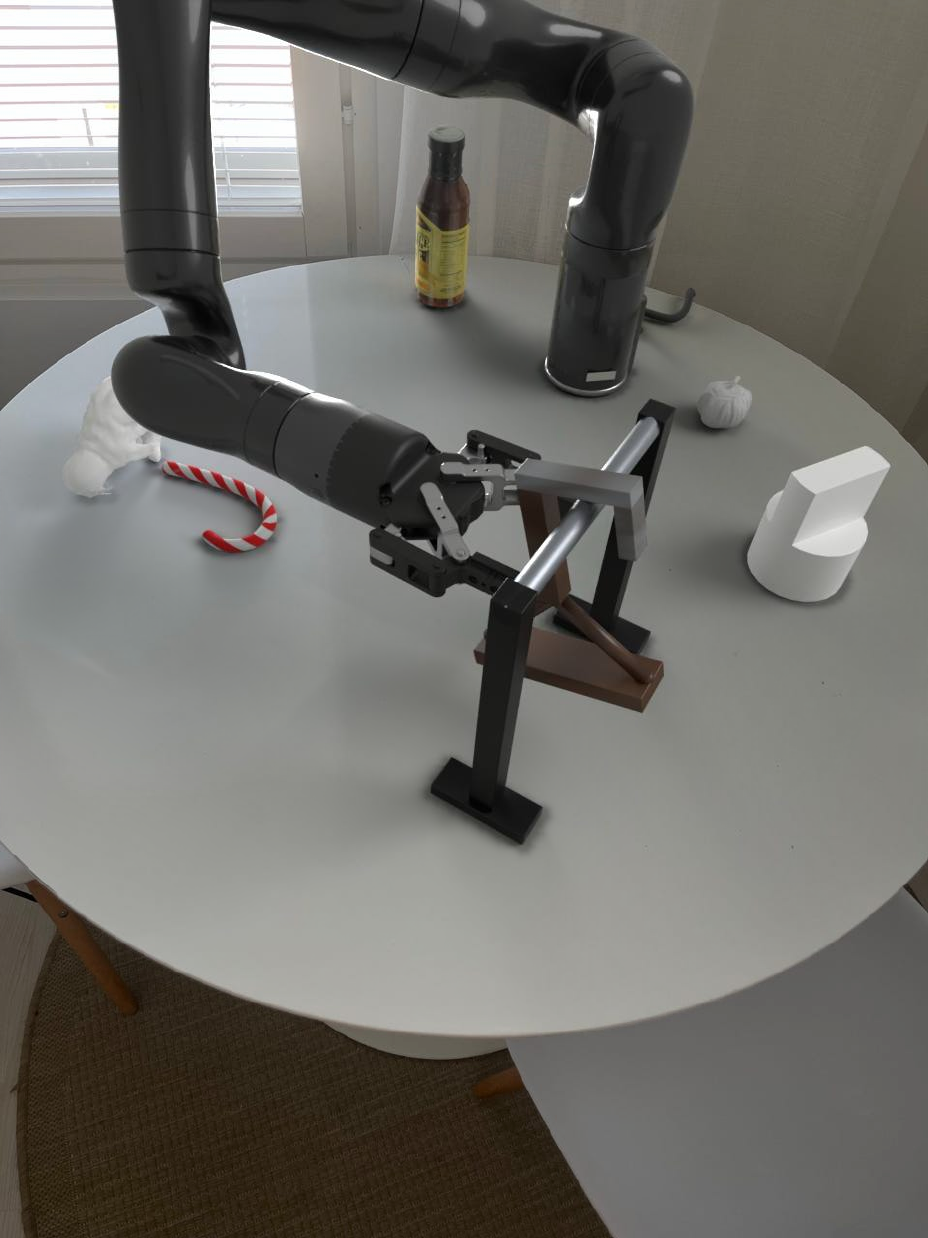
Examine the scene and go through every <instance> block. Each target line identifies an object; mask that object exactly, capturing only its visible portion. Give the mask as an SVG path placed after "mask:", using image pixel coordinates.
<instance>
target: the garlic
mask: <svg viewBox="0 0 928 1238" xmlns="http://www.w3.org/2000/svg"><path fill="white" fill-rule="evenodd" d="M740 380H741V376H739V375H736V376H735V378H734V379H733V381H730V380H729V381H727V380H720V381H712V382H710V383H709V384H708V385H707V387H706V388H705V389H704V391H703V392H702V393H701V395H700V396H699V398H698V400H697V403H696V409H697V411H698V413H699V415H700V420H701V422H702V423H703V424H704V425H705V426H706V427H709V428H711V429H731V428H735V427H736V426H738V425H740V423H741V422H742V421H743V419H744V418H745V417H746V416H747V414H748V412H749V410H750V408H751V405H752V402H753V395H752V392H751V391H750V390H749V389H747V388H745V387H743V386H741V385H740V384H738V382H739V381H740Z"/></svg>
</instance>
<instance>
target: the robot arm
mask: <svg viewBox="0 0 928 1238" xmlns="http://www.w3.org/2000/svg"><path fill="white" fill-rule="evenodd" d="M111 2H112V9H113V17H114V26H115V35H116V49H117V67H118V68H117V69H118V119H117V121H118V123H117V124H118V127H117V128H118V129H117V177H118V178H117V179H118V180H117V181H118V182H117V183H118V201H119V203H118V204H119V215H120V224H121V225H120V226H121V227H120V228H121V229H120V230H121V239H122V251H123V253H124V254H123V263H124V272H125V277H126V282H127V285H128V287H129V289H130V290H131V292H132V293H134V294H135V295H136V296H137V297H139V298H141V299H143V300H144V301H146V302H149V303H151V304H153V305H154V306H156V307H157V308H158V309H159V310H160V311H161V314H162V317H163V319H164V322H165V324H166V327H167V331H168V334H169V335H168V334H148V335H143V336H139V337H137V338H134V339H131V340H130V341H129V342H127V343H126V344H125V345H123V347H121V348H120V350H119V351H118V352H117V354H116V356H115V358H114V360H113V362H112V366H111V369H110V370H111V371H110V375H111V383H112V388H113V391H114V394H115V396H116V399H117V400H118V402H119V404H120V406H121V407H122V409H123V410H124V411H125V412H126V413H127V415H128V416H130V417H131V418H132V419H133V420H134V421H135V422H136V423H138V424H139V425H141V426H142V427H144V428H146V429H147V430H149V431H151V432H153V433H156V434H158V435H161V437H164V438H166V439H170V440H173V441H176V442H180V443H183V444H186V445H190V446H192V447H196V448H199V449H204V450H207V451H211V452H214V453H220V454H224V455H227V456H231V457H234V458H236V459H239V460H241V461H243V462H245V463H246V464H248V465H250V466H252V467H254V468H256V469H259V470H261V471H263V472H265V473H267V474H269V475H272V476H273V477H275V478H277V479H280V480H282V481H284V482H285V483H287V484H288V485H290V486H292V487H294V488H295V489H297V490H298V491H299V492H301V493H302V494H304V495H305V496H307V497H309V498H311V499H313V500H315V501H317V502H319V503H321V504H324V505H326V506H328V507H329V508H332V509H334V510H336V511H339V512H340V513H342V514H345V515H347V516H349V517H351V518H353V519H355V520H358V521H359V522H361V523H363V524H366V525H367V526H370V527H372V528H373V529H371V530H370V531H369V533H368V544H369V545H368V546H369V547H368V548H369V561H370V564H371V565H373V566H374V567H377V568H378V569H380V570H382V571H384V572H386V573H388V574H390V575H391V576H393V577H395V578H397V579H399V580H401V581H402V582H404V583H406V584H408V585H410V586H412V587H414V588H415V589H417V590H419V591H421V592H422V593H425V594H426V595H428V596H430V597H432V598H442V597H443V596H445V594H446V592H447V589H449V588H451V587H453V586H454V585H459V586H461V585H464V584H465V585H467V586H469V587H472V588H473V589H476V590H478V591H480V592H482V593H485V594H486V595H488V596H491V597H492V596H493V595H494V594H495V593H496V591H497V590H498V589H499V588H500V586H501V585H502V584H503V583H504V581H505V580H506V579H507V578H510V579H512V580H515V578H516V577H517V576H518V575H519V573H520V572H521V571H520V570H517V569H515V568H513V567H511V566H509V565H507V564H504V563H502V562H500V561H498V560H496V559H494V558H492V557H490V556H488V555H485V554H482V553H481V552H479V551H477V550H476V551H475V552H474V553H473V554H472V555H471V551H470V549H469V547H468V546H467V544H466V542H465V540H464V538H463V536H464V535H465V534H466V533H467V531H468V529H469V527H470V524H472V523H473V522H476V521H477V520H478V519H479V518H480V517H481V516H482V515H483V514H484V512H497V511H500V510H502V508H503V507H506V506H508V507H509V506H510V507H511V506H520V503H519V498H518V493H517V489H504V488H505V487H507V486H516V481H515V476H514V473H515V472H516V471H517V469H518V468H519V467H520V466H516V465H514V464H513V462H515V463H518V464H520V465H522V464H523V463H524V461H525V460H526V459H527V458H529V459H536V460H542V456H541V454H540V453H538V452H535V451H533V450H530V449H528V448H525V447H522V446H520V445H517V444H515V443H513V442H510V441H506V440H504V439H502V438H499V437H497V436H494V435H492V434H488V433H487V432H483V431H481V430H479V429H471V430H469V431H467V433H466V441H465V444H464V445H463V446H462V448H461V449H460V450H459V451H458V452H447V451H442V450H440V449H438V448H437V447H436V445H434V444H433V443H432V441H430V439H429V438H428V436H426V435H425V434H424V433H422V432H420V431H418V430H416V429H414V428H411V427H409V426H406V425H404V424H402V423H399V422H398V421H395V420H393V419H390V418H388V417H386V416H383V415H381V414H378V413H376V412H373V411H371V410H369V409H366V408H364V407H362V406H360V405H357V404H356V403H353V402H350V401H348V400H344V399H342V398H338V397H333V396H329V395H326V394H323V393H320V392H319V391H317V390H314V389H311V388H309V387H307V386H305V385H302V384H300V383H298V382H296V381H293V380H290V379H288V378H286V377H284V376H280V375H277V374H273V373H268V372H262V371H252V370H251V371H250V370H248V368H247V361H246V356H245V351H244V347H243V344H242V341H241V340H242V339H241V337H240V334H239V330H238V327H237V322H236V320H235V316H234V312H233V308H232V305H231V302H230V299H229V297H228V293H227V291H226V287H225V285H224V282H223V277H222V259H221V256H222V255H221V254H222V253H221V239H220V238H221V237H220V224H219V223H220V222H219V206H218V194H217V193H218V192H217V191H218V190H217V179H216V164H215V152H214V151H215V148H214V134H213V132H214V131H213V118H212V117H213V116H212V115H213V114H212V93H211V92H212V91H211V48H212V47H211V46H212V45H211V44H212V41H211V40H212V38H211V37H212V23H213V24H217V25H223V26H227V27H232V28H237V29H241V30H244V31H248V32H252V33H256V34H260V35H263V36H266V37H270V38H272V39H275V40H278V41H281V42H283V43H286V44H288V45H291V46H292V47H296V48H299V49H301V50H304V51H306V52H309V53H312V54H314V55H317V56H320V57H322V58H326V59H329V60H332V61H334V62H336V63H340V64H343V65H345V66H349V67H352V68H355V69H357V70H360V71H363V72H366V73H368V74H371V75H373V76H376V77H378V78H381V79H384V80H386V81H390V82H393V83H396V84H399V85H402V86H405V87H407V88H411V89H414V90H417V91H420V92H423V93H426V94H430V95H433V96H438V97H442V98H447V99H456V100H457V99H460V100H470V99H473V100H476V99H477V100H478V99H506V100H512V101H516V102H517V101H518V102H521V103H524V104H526V105H530V106H532V107H534V108H537V109H539V110H541V111H544V112H546V113H548V114H550V115H553V116H555V117H556V118H559V119H561V120H562V121H565V122H567V123H568V124H570V125H571V126H573V127H575V128H576V129H578V130H579V131H580V132H581V133H582V134H584V135H585V137H587V139H588V140H589V142H591V144H592V145H593V152H592V157H591V163H590V169H589V173H588V179H587V183H584V184H582V185H580V186H578V187H577V188H576V189H574V190H573V192H572V193H571V195H570V196H569V199H568V202H567V203H568V204H567V210H566V215H565V225H564V231H563V239H562V246H561V247H562V248H561V255H560V260H559V261H560V262H559V267H558V276H557V283H556V288H555V289H556V291H555V296H554V302H553V303H554V304H553V312H552V318H551V325H550V332H549V340H548V345H547V353H546V358H545V363H544V373H545V376H546V377H547V379H548V380H549V381H550V382H551V383H552V384H553V385H554V386H555V387H557V388H558V389H560V390H562V391H563V392H565V393H566V392H567V393H569V394H572V395H577V396H579V397H602V396H608V395H611V394H612V393H615V392H618V391H619V390H620V389H621V388H622V387H623V386H624V384H625V383H626V380H627V376H628V374H630V373H632V371H633V366H634V362H635V357H636V354H637V348H638V345H639V340H640V336H641V334H642V333H643V331H644V327H643V322H644V319H645V317H646V318H648V319H652V320H654V321H658V322H661V323H666V324H668V323H669V324H672V323H676V322H680V321H682V320H683V319H684V318H685V317H686V316H687V315H688V314H689V312H690V310H691V308H692V305H693V301H694V297H696V296H697V295H696V294H697V292H696V290H695V289H694V288H693V287H689V288H687V289H686V291H685V297H684V302H683V305H682V307H681V308H680V310H679V311H677V312H676V313H672V314H671V313H664V312H660V311H657V310H654V309H651V308H648V307H647V304H648V297H647V295H646V294H645V291H646V286H647V281H648V277H649V272H650V267H651V262H652V258H653V253H654V250H655V244H656V240H657V235H658V231H659V228H660V227H659V226H660V224H661V221H662V220H663V219H664V217H665V215H666V214H667V212H668V211H669V209H670V207H671V205H672V202H673V200H674V197H675V194H676V190H677V187H678V184H679V181H680V180H679V179H680V175H681V173H682V168H683V165H684V162H685V158H686V154H687V150H688V146H689V144H690V138H691V134H692V129H693V125H694V119H695V106H696V104H695V101H696V100H695V92H694V87H693V84H692V82H691V80H690V78H689V77H688V76H687V74H686V72H684V70H683V69H682V68H680V67H679V66H678V64H676V63H675V62H674V61H673V60H672V59H671V58H669V56H667V55H666V54H665V53H664V52H663V51H662V50H660V49H659V48H658V47H657V45H655V44H654V43H653V42H651V41H649V40H648V39H646V38H644V37H642V36H639V35H637V34H634V33H631V32H627V31H623V30H619V29H614V28H610V27H606V26H601V25H597V24H593V23H589V22H584V21H582V20H579V19H574V18H572V17H571V18H570V17H567V16H564V15H560V14H557V13H554V12H553V11H552V12H551V11H549V10H547V9H545V8H542V7H540V6H539V5H537V4H534V3H533V2H531V1H530V0H111ZM512 461H513V462H512ZM483 482H490V490H489V492H488V493H486V488H485V487H486V486H485V485H484V483H483ZM557 499H558V506H559V512H560V519H561V520H562V519H563V517H564V516H565V515H566V514H567V512H568V511H569V510H570V508H571V507H572V506H573V505H574V503H575V502H576V501H577V499H572V498H566V497H561V496H557ZM409 541H426V543H427V544H428V547H429V548H430V550H431V552H432V553H433V554H432V553H430V552H428V551H426V550H425V549H422V548H421V547H419V546H417V545H415V544H413V543H411V542H409Z"/></svg>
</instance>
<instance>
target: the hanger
mask: <svg viewBox="0 0 928 1238" xmlns="http://www.w3.org/2000/svg"><path fill="white" fill-rule="evenodd" d="M518 467H519V468H518V469H517V471H516V472H515V473H514V476H515V481H516V485H515V486H516V490H517V493H518V498H519V503H520V505H519V507H520V515H521V520H522V523H523V524H522V525H523V530H524V535H525V540H526V546H527V551H528V557H529V560H530V559H531V558H532V557H533V556H534V554H535V553H536V552H537V550H538V549H539V548H540V547H541V545H542V544H543V543H544V542H545V540H546V539H547V538H548V536H549V535H550V534H551V533H552V531H553V530H554V529H555V528H556V526H557V525H558V524H559V522H560V521H561V519H560V512H559V506H558V499H557V496H561V497H566V498H572V499H577V500H583V501H588V502H594V503H599V504H605V506H611V507H613V516H615V526H616V535H617V545H618V555H619V558H621V559H626V560H630V561H634V562H637V561H638V560H639V558H641V555H642V554H643V552H644V551H645V549H646V548H647V546H648V531H647V519H646V518H647V517H646V518H645V505H644V493H643V480H642V476H636V475H629V474H623V473H617V472H611V471H604V470H601V469H597V468H591V467H585V466H580V465H579V466H578V465H572V464H566V463H560V462H553V461H547V460H542V459H541V460H536V459H529V458H527V459H526V460H525V461H524V463H523V464H520V466H518ZM571 591H572V584H571V579H570V573H569V565H568V558H567V557H566V559H565V560H564V561H563V563H562V564H561V565H560V567H559V568H558V569H557V571H556V572H555V573H554V575H553V576H552V577H551V579H550V580H549V581H548V583H547V584H546V585H545V587H544V588H543V589H542V591H541V592H540V593H539V595H538V596H537V602H536V608H535V614H534V618H536V617H538V616H540V615H541V614H543V613H544V612H546V611H547V610H549V609H551V608H552V607H554V608H555V609H556V610H557V609H558V610H559V611H560V612H561V613H562V614H563V615H564V616H565V617H566V618H567V619H569V620H570V621H571V622H572V623H573V624H574V625H575V626H576V627H577V628H579V629H580V630H581V631H582V632H583V633H584V634H585V635H586V636H587V637H588V638H590V639H591V640H592V641H593V642H594V643H593V642H591V641H589V640H584V639H580V638H576V637H572V636H568V635H566V634H561V633H558V632H555V631H550V630H547V629H543V628H539V627H535V626H532V632H531V638H530V644H529V650H528V656H527V662H526V667H525V673H524V679H526V680H530V681H534V682H537V683H540V684H544V685H546V686H550V687H554V688H556V689H560V690H563V691H567V692H570V693H574V694H577V695H580V696H583V697H587V698H589V699H593V700H596V701H600V702H604V703H606V704H610V705H614V706H617V707H621V708H623V709H627V710H630V711H633V712H637V713H640V714H643V713H644V711H645V709H646V708H647V706H648V704H649V703H650V701H651V699H652V697H653V696H654V694H655V693H656V691H657V689H658V687H659V685H660V684H661V683H662V680H663V678H664V677H665V666H664V661H662V660H659V659H656V658H653V657H652V658H651V657H648V656H644V655H640V654H639V655H637V654H633V653H630V652H629V651H628V650H627V649H626V648H625V647H624V646H623V645H621V644H620V643H619V642H618V641H617V640H616V639H615V638H614V637H613V636H612V635H610V634H609V633H608V632H607V631H606V630H605V629H604V628H603V627H602V626H601V625H599V624H598V623H597V622H596V621H595V620H594V619H593V618H592V617H591V616H590V615H588V614H587V613H586V612H585V611H584V610H583V609H582V608H581V607H580V606H578V605H577V604H576V603H575V602H574V601H573V600H572V599H571V598H570V597H569V596H567V595H568V594H571ZM486 635H487V628H486V629H484V631H483V637H482V638H481V639H480V641H479V642H478V643H477V644H476V646H475V647H474V649H473V656H474V660H475V663H476V664H477V665H481V666H483V663H484V653H485V644H486Z"/></svg>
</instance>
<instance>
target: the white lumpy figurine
mask: <svg viewBox="0 0 928 1238" xmlns="http://www.w3.org/2000/svg"><path fill="white" fill-rule="evenodd" d="M89 397H90V398H89V401H88V404H87V406H86V411H85V412H84V414H83V417H82V423H81V427H80V429H79V431H78V432H77V437H76V439H77V451H75V452H74V453H73V454H72V456H71V457H70V458H69V459H68V460H67V462H66V463H65V465H64V467H63V469H62V479H63V482H64V483H65V485H66V488H67V489H68V490H69V491H71V492H72V493H73V494H75V495H78V496H83V497H86V498H88V499H92V498H93V497H95V496H96V497H97V496H103V495H112V494H113V493H112V492H109V491H111V490H112V489H113V488H114V487H112V486H110V487H108V488H107V487H105V483H106V481H107V479H108V478H109V477H110V476H112V474H113V472H114V471H116V470H117V469H121V468H124V467H125V466H127V464H129V463H133V462H138V461H140V460H143V459H145V458H148V459H149V460H151V461H152V462H154V463H159V462H160V460H161V458H162V452H161V442H162V436H161V435H158V434H156V433H153V432H151V431H149V430H147V429H146V428H144V427H142V426H141V425H139V424H138V423H136V422H135V421H134V420H133V419H132V418H131V417H130V416H128V415H127V413H126V412H125V411H124V410H123V409H122V407H121V406H120V404H119V402H118V400H117V399H116V396H115V394H114V391H113V388H112V383H111V374H110V375H109V376H108V377H106V378H104V379H102V380H101V382H100V383H99V384H98V385H97V387H96V388H95V389H94V390H92V392H91V394H90V396H89ZM138 438H140V440H141V442H142V443H139V442H137V439H138Z"/></svg>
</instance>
